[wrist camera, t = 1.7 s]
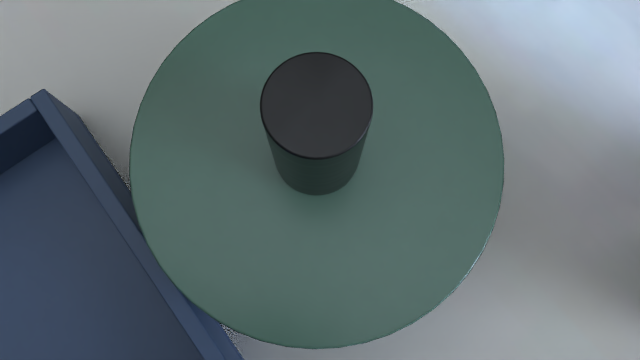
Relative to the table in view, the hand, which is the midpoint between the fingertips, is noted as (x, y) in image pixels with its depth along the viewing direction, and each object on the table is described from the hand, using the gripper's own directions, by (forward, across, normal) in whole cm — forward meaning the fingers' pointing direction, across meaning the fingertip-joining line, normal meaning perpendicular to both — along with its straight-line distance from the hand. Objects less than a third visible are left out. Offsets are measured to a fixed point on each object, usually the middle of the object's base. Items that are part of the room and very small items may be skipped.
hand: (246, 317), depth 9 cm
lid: (+8, 0, +2) cm, 9 cm away
